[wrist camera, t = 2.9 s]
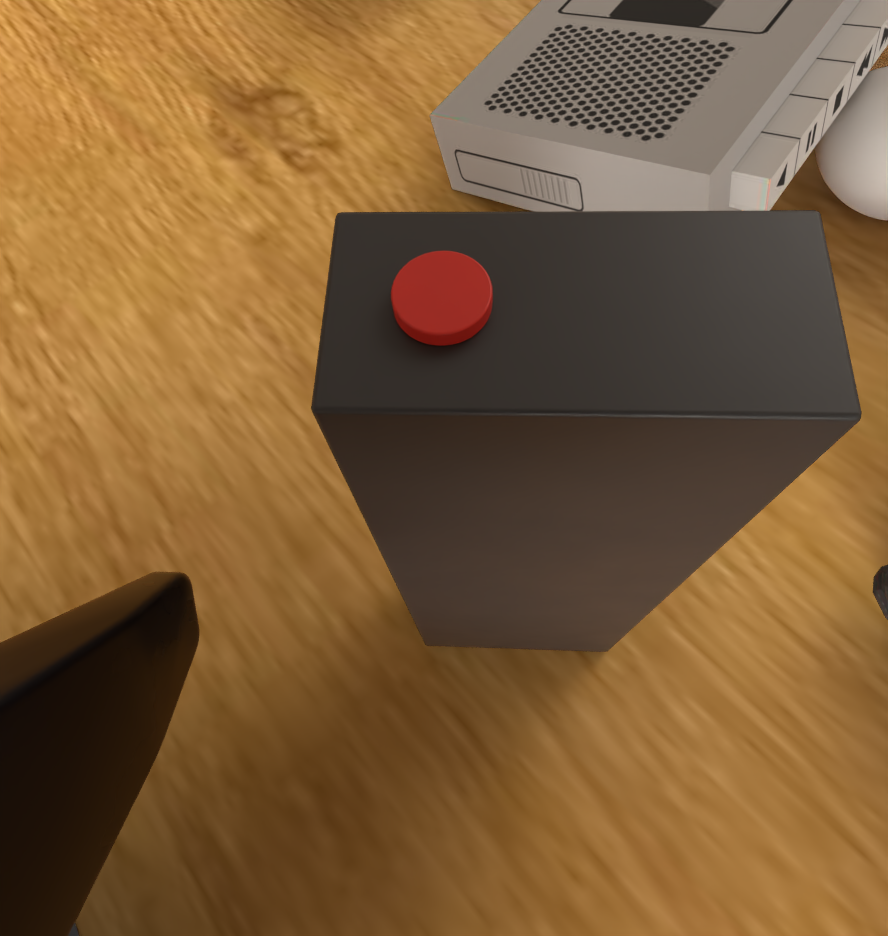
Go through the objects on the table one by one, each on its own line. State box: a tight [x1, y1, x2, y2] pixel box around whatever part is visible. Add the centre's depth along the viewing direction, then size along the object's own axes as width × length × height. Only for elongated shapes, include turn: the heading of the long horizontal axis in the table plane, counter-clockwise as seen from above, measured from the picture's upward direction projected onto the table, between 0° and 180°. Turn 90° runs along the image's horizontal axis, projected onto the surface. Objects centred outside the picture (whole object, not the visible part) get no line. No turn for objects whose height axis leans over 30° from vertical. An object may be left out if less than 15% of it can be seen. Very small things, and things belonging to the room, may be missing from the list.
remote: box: [311, 210, 861, 652], centre depth 12 cm, size 2×5×13 cm, turn 87°
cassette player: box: [430, 0, 888, 212], centre depth 22 cm, size 16×3×10 cm
